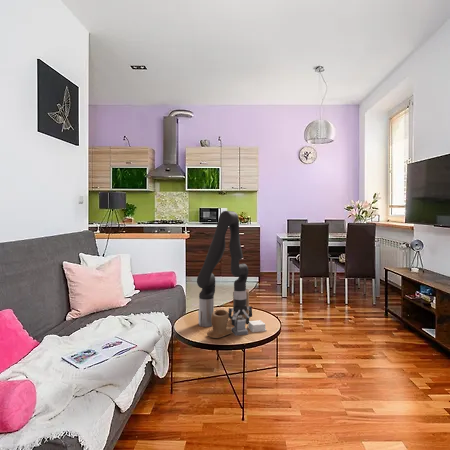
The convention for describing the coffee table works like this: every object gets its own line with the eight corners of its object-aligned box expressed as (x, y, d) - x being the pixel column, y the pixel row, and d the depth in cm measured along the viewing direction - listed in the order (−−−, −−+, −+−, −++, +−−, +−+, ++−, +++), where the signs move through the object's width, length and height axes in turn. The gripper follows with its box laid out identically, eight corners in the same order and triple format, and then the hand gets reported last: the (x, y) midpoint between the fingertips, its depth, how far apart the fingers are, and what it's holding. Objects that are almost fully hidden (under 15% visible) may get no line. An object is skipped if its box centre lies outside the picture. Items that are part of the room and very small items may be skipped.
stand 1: (235, 335, 203) (235, 332, 203) (231, 330, 211) (231, 327, 210) (248, 334, 205) (248, 330, 205) (243, 329, 213) (243, 326, 213)
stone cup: (217, 342, 193) (217, 315, 193) (204, 336, 202) (204, 310, 201) (237, 335, 203) (237, 310, 202) (223, 330, 212) (223, 305, 211)
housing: (237, 331, 203) (237, 319, 203) (233, 327, 211) (233, 315, 210) (245, 331, 204) (245, 318, 204) (241, 326, 212) (241, 314, 212)
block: (248, 318, 236) (249, 288, 235) (248, 322, 226) (248, 292, 225) (234, 317, 236) (234, 288, 236) (232, 322, 227) (233, 291, 226)
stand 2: (252, 332, 208) (252, 325, 208) (247, 327, 217) (247, 320, 217) (266, 330, 211) (266, 324, 210) (261, 326, 219) (261, 319, 219)
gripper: (230, 300, 201) (230, 328, 202) (253, 298, 205) (253, 325, 206) (226, 297, 209) (227, 324, 209) (249, 295, 212) (249, 321, 213)
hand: (240, 324), depth 208 cm, fingers open, 8 cm apart
